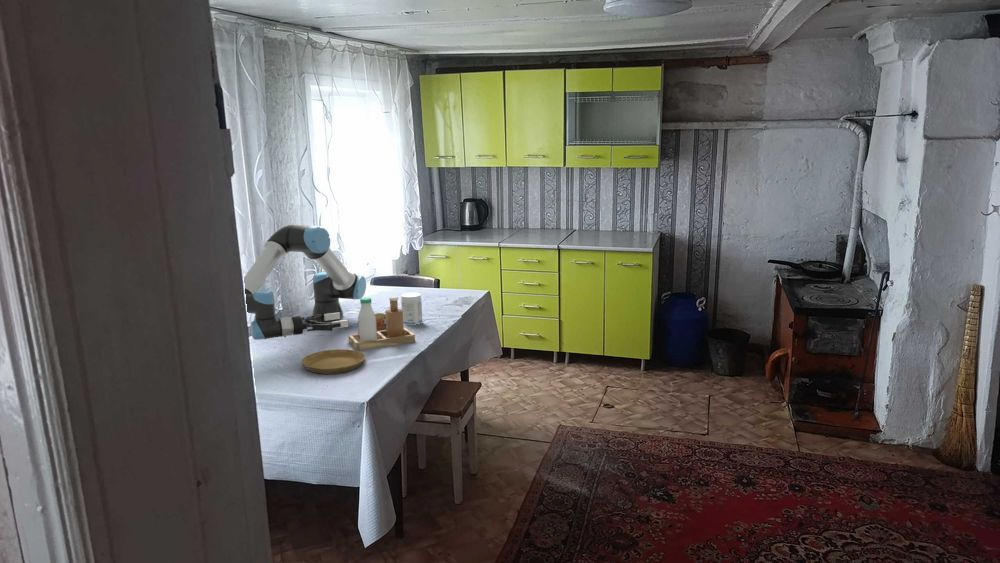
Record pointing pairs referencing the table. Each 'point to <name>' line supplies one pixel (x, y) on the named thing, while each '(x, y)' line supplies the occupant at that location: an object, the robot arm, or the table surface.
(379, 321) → the tin
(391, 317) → the brown bottle
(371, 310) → the milk bottle
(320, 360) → the plant saucer
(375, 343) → the divided wooden tray
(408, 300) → the supplement tub
